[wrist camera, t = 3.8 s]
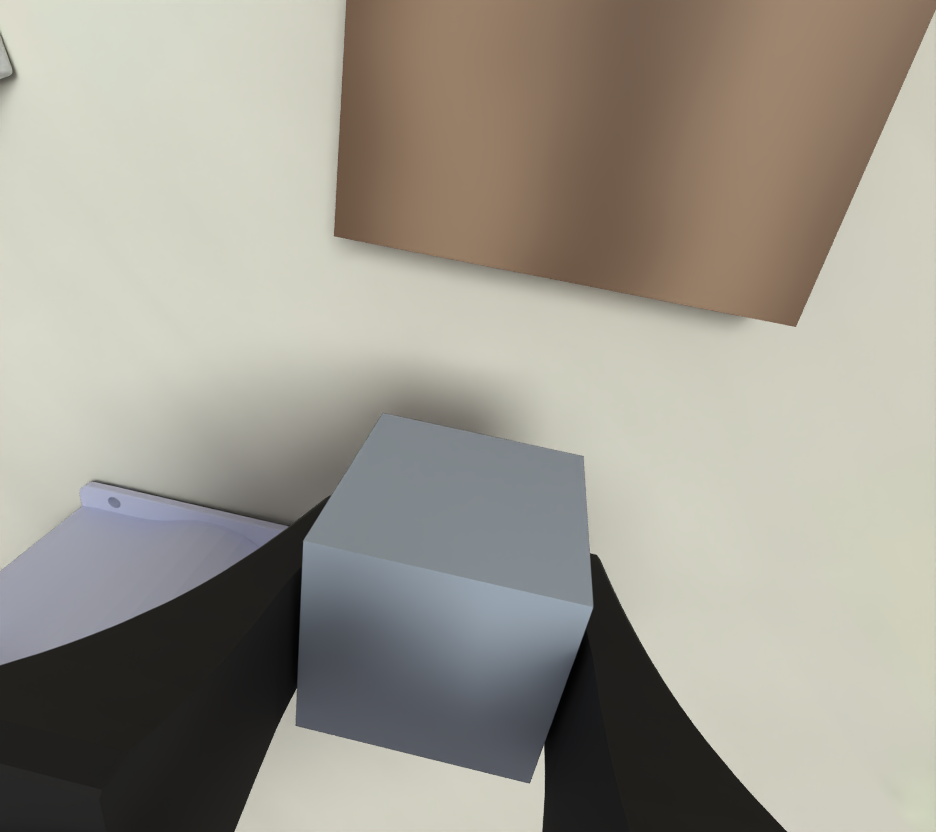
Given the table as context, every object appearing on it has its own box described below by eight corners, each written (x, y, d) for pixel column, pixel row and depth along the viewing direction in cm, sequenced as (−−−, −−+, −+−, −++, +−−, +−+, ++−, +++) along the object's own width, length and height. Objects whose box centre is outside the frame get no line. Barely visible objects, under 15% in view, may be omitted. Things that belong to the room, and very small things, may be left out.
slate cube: (366, 566, 15) (295, 725, 11) (383, 412, 13) (303, 540, 9) (538, 605, 15) (529, 783, 11) (583, 456, 13) (593, 607, 9)
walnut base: (367, 219, 18) (334, 236, 15) (413, -360, 12) (372, -491, 10) (760, 296, 17) (795, 326, 15) (991, -281, 12) (1115, -398, 9)
